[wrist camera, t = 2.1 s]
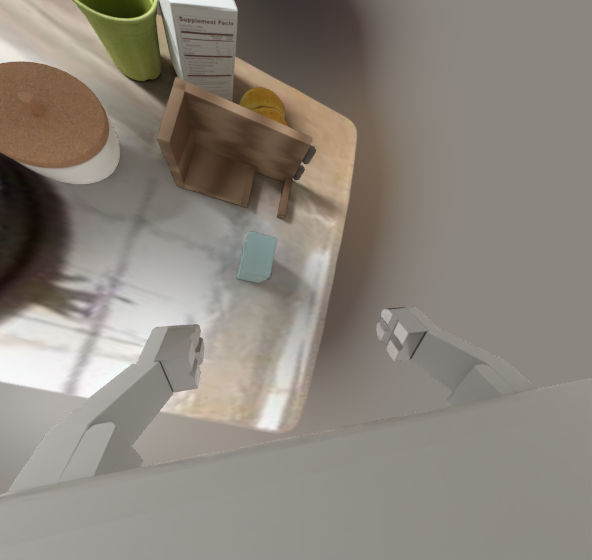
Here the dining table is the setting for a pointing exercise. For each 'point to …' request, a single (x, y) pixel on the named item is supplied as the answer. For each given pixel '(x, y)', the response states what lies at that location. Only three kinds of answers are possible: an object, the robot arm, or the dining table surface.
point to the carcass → (227, 146)
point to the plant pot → (127, 34)
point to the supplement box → (202, 42)
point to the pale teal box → (257, 257)
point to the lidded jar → (55, 124)
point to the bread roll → (264, 104)
